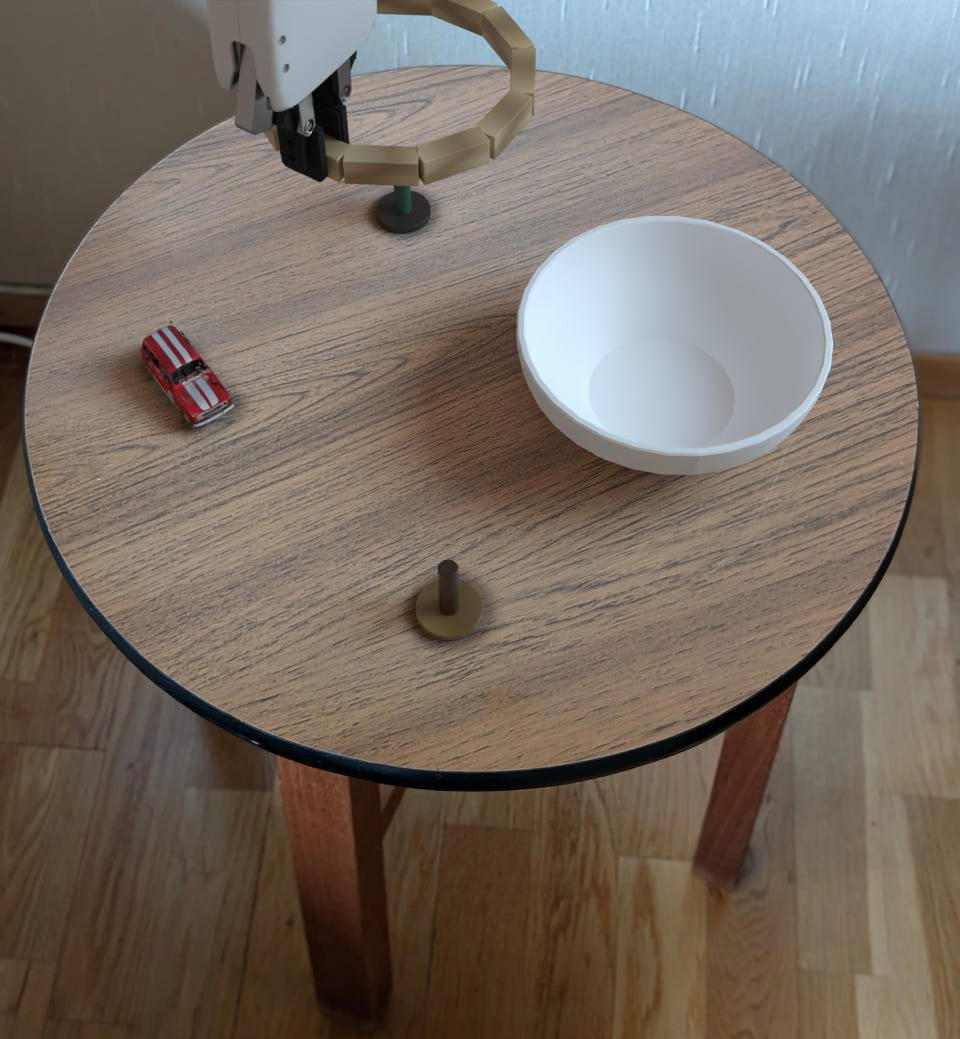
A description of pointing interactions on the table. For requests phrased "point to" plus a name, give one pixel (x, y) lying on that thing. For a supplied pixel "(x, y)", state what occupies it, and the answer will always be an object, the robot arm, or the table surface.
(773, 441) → the bowl
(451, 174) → the ring
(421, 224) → the green peg
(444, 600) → the walnut peg
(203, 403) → the toy car
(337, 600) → the table surface
